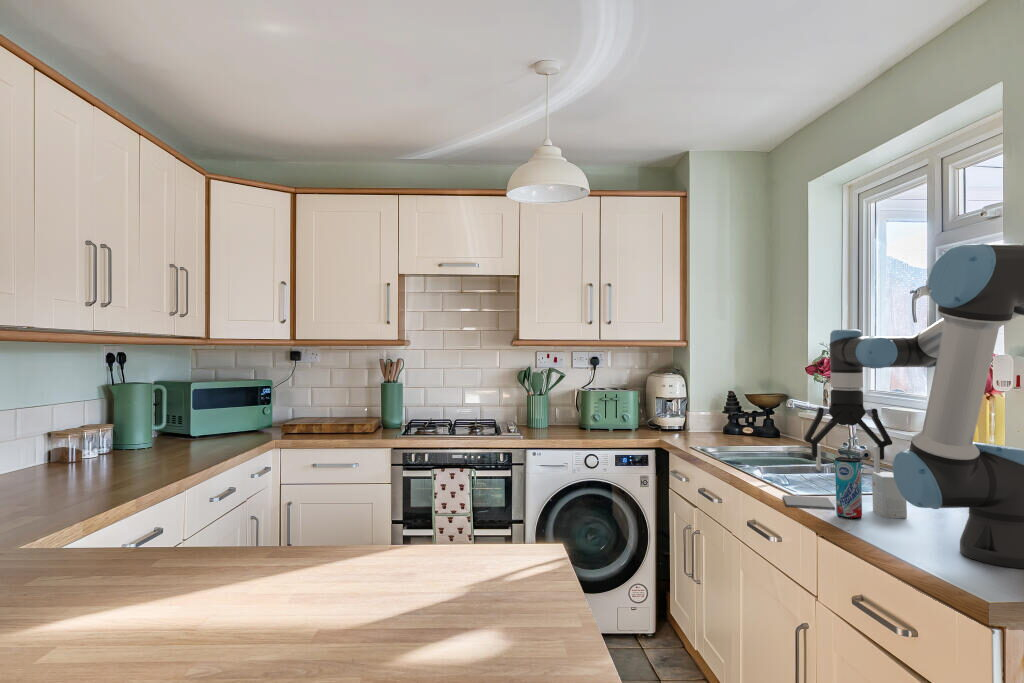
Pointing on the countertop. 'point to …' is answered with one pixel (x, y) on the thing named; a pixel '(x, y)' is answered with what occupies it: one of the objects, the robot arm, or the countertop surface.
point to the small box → (887, 496)
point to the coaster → (808, 502)
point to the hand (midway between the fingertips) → (847, 471)
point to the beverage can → (848, 488)
